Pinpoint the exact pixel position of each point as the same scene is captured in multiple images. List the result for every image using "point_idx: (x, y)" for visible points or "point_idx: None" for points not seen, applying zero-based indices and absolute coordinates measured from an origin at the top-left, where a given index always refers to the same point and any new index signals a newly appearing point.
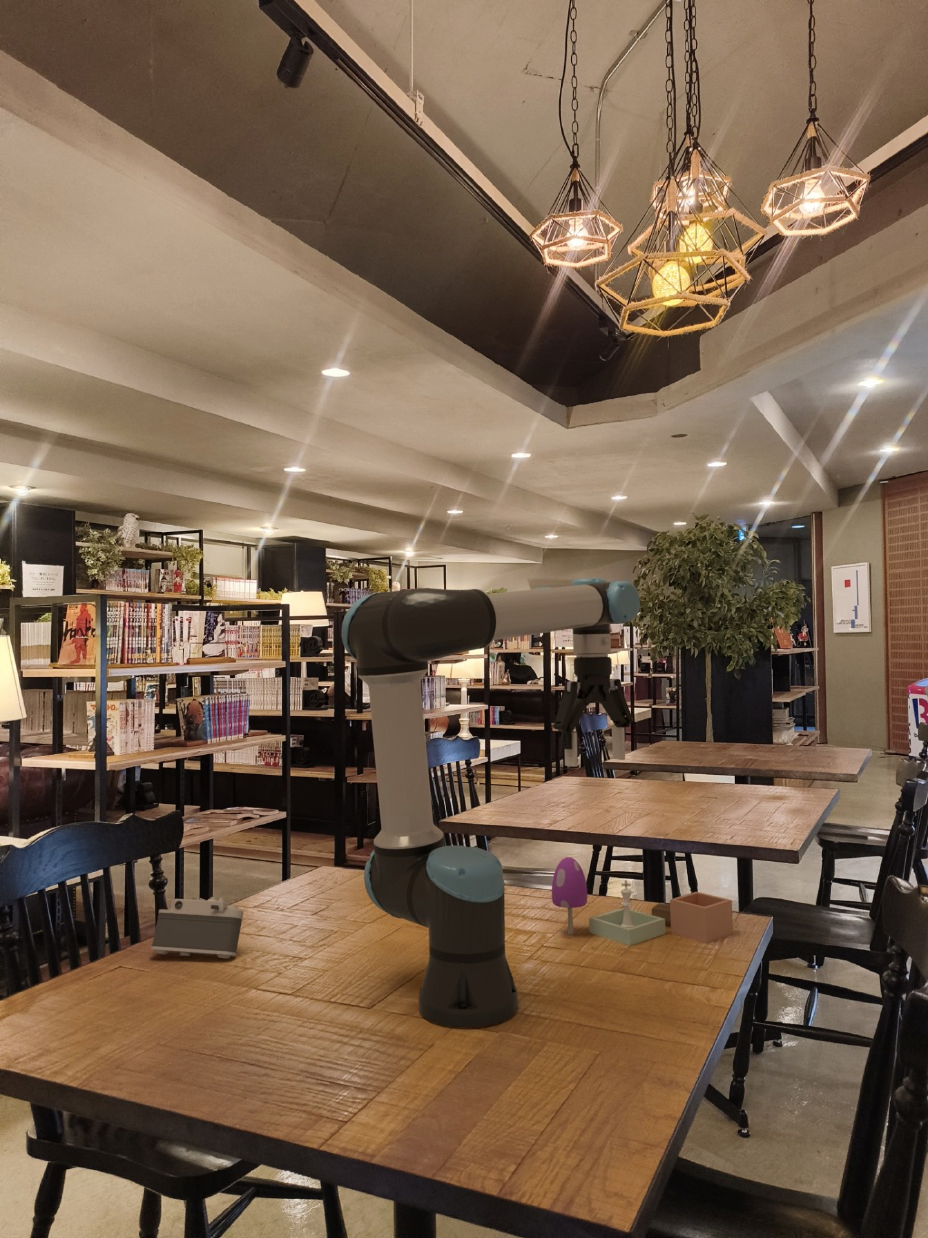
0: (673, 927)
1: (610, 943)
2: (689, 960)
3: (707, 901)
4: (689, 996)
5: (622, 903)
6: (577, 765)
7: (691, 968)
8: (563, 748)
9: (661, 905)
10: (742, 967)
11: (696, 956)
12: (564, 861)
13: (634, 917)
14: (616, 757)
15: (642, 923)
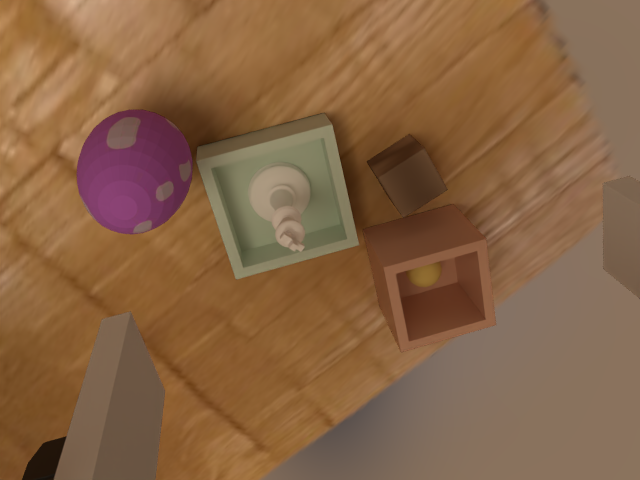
0: (369, 246)
1: None
2: (305, 344)
3: (475, 270)
4: (201, 461)
5: (273, 222)
6: (162, 396)
7: (282, 375)
8: (42, 447)
9: (416, 168)
10: (362, 398)
11: (331, 333)
12: (102, 214)
13: (328, 163)
14: (612, 221)
15: (332, 184)
